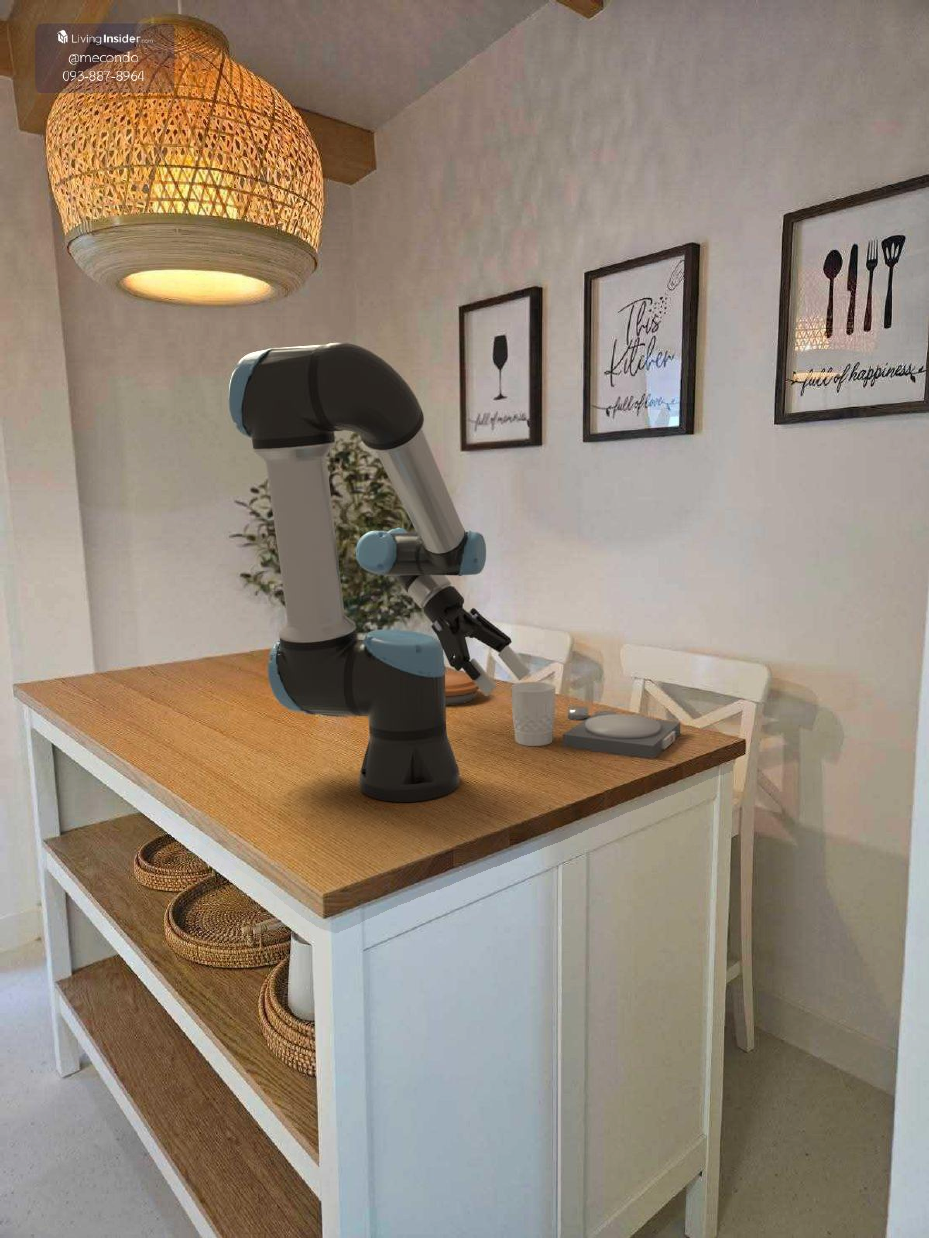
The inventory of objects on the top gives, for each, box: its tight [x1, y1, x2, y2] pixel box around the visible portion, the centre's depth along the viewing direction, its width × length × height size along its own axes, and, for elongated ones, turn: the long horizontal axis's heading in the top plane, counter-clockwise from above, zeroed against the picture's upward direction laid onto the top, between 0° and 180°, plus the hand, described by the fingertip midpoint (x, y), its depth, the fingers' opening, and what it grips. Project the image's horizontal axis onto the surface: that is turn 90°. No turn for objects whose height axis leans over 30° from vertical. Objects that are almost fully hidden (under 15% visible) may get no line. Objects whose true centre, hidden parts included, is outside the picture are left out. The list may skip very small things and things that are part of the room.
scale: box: [562, 713, 681, 760], centre depth 144 cm, size 16×17×3 cm
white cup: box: [510, 681, 556, 747], centre depth 144 cm, size 8×8×10 cm
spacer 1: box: [567, 705, 589, 722], centre depth 160 cm, size 4×4×2 cm
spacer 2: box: [594, 710, 617, 715], centre depth 156 cm, size 4×4×2 cm
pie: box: [445, 672, 480, 706], centre depth 178 cm, size 15×16×5 cm
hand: (509, 683), depth 148 cm, fingers open, 13 cm apart
